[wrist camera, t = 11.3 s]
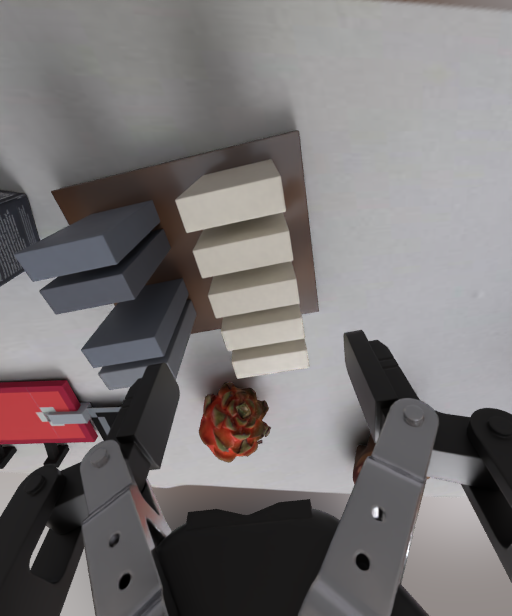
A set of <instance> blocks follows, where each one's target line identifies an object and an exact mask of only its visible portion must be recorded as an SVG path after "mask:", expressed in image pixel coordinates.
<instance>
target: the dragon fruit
mask: <svg viewBox="0 0 512 616" xmlns="http://www.w3.org/2000/svg"><path fill="white" fill-rule="evenodd" d="M268 409H269V407H268V405H267V403H266V401H259V400H257V397H256V392H255V391H254V390H253V389H251V388H244V389H240V388H236V387H235V386H234V384H233V382H232V383H224V385H223V386H222V387H221V388H220V390H219V392H218V395H217V396H215V395H214V394H208V395H207V396H205V401H204V409H203V412H204V413H203V417H202V419H201V424H200V429H199V435H200V438H201V440H202V441H203V443H204V444H205V445H207V446H208V447H209V448H210V450H211V451H212V452H213V454H214V455H215V456H216V457H217V458H218V459H220V460H223V461H225V462H228V463H229V462H232V461H233V460H234V459H235V457H236V456H242V457H243V456H247V457H248V456H249V455H250V454H252V453H253V452H255V451H256V450H257V447H258V444H260V443H262V440H260V441H258V440H259V439H261V438H263V437H264V435H265V437H267V436H268V434H269V433H270V429H271V427H269V426H268V425H267V424H266V423H265V422H263V421H262V419H263V418H264V416H265V415H266V412H267V411H268ZM264 423H265V424H264ZM257 441H258V442H257Z"/></svg>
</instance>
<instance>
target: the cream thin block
mask: <svg viewBox="0 0 512 616" xmlns="http://www.w3.org/2000/svg"><path fill="white" fill-rule="evenodd" d="M208 297H209V300H210V303H211V306H212V309H213V311H214V314H215V317H216V318H221V317H227V316H232V315H238V314H244V313H249V312H255V311H261V310H266V309H272V308H277V307H283V306H289V305H294V304H299V303H300V300H299V294H298V287H297V280H296V276H295V272H294V269H293V265H292V261H289V262H284V263H278V264H273V265H268V266H263V267H258V268H253V269H248V270H243V271H238V272H233V273H228V274H222V275H217V276H213V279H212V283H211V286H210V290H209V293H208Z"/></svg>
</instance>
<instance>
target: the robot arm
mask: <svg viewBox="0 0 512 616" xmlns="http://www.w3.org/2000/svg"><path fill="white" fill-rule="evenodd" d="M344 352H345V363H346V368H347V371H348V374H349V377H350V380H351V382H352V385H353V388H354V390H355V393H356V395H357V398H358V401H359V403H360V406H361V409H362V411H363V414H364V416H365V419H366V422H367V424H368V427H369V430H370V432H371V435H372V437H373V440H374V443H376V445H375V447H374V450H373V452H372V454H371V456H368V457H367V458H366V460H365V461H364V464H363V466H362V468H361V471H360V473H359V476H358V478H357V480H356V483H355V485H354V488H353V490H352V493H351V495H350V497H349V500H348V502H347V505H346V507H345V510H344V512H343V515H342V517H341V520H339V519H337V518H335V517H334V516H332V515H330V514H328V513H326V512H323V511H320V510H316V509H312V506H311V502H310V499H307V500H297V501H288V502H279V503H276V504H274V505H272V506H269V507H267V508H265V509H262V510H260V511H257V512H255V513H253V514H250V515H242V514H237V513H233V512H228V511H223V510H219V509H213V510H204V511H194V512H188V516H187V522H186V523H185V524H183V525H181V526H180V527H178V528H177V529H175V530H174V531H171V529H170V528H169V526H168V524H167V523H166V521H165V519H164V516H163V514H162V512H161V509H160V507H159V504H158V502H157V500H156V497H155V495H154V492H153V490H152V487H151V485H150V482H149V481H148V479H147V476H148V472H149V470H154V469H160V467H161V463H162V459H163V456H164V452H165V448H166V445H167V441H168V438H169V434H170V430H171V427H172V423H173V419H174V416H175V412H176V408H177V405H178V401H179V396H180V392H179V386H178V384H177V382H176V380H175V378H174V376H173V374H172V373H171V371H170V369H169V367H168V365H167V364H166V363H159V364H153V365H148V366H147V367H146V369H145V372H144V374H143V376H142V378H138V379H137V380H136V382H135V383H134V384H133V385H132V386H131V387H130V389H129V391H128V393H127V395H126V397H125V400H124V401H123V403H122V406H121V409H120V410H119V412H118V414H117V416H116V418H115V420H114V423H113V425H112V427H111V429H110V431H109V433H108V435H107V437H106V439H105V441H102V442H100V443H98V444H97V445H95V446H94V447H93V448H92V449H90V450H89V451H88V453H87V454H86V455H85V457H84V458H83V460H82V462H80V463H78V464H75V465H73V466H71V467H69V468H66V469H64V470H62V471H59V470H58V469H57V468H56V467H55V466H53V465H46V466H43V467H41V468H39V469H37V470H35V471H34V472H32V473H31V474H30V475H29V476H28V477H27V478H26V479H25V480H24V481H23V482H22V483H21V484H20V486H19V487H18V489H17V490H16V492H15V494H14V495H13V497H12V499H11V500H10V502H9V503H8V505H7V507H6V509H5V510H4V512H3V513H2V515H1V517H0V616H60V613H61V610H62V607H63V605H64V602H65V599H66V596H67V594H68V591H69V588H70V585H71V582H72V580H73V577H74V574H75V571H76V569H77V566H78V563H79V560H80V557H81V555H82V552H83V549H84V547H85V553H86V560H87V565H88V572H89V578H90V584H91V591H92V597H93V602H94V609H95V615H96V616H429V615H428V614H427V613H426V612H425V611H424V610H423V608H422V607H421V606H420V605H419V604H418V603H417V602H416V600H415V599H414V598H413V597H412V596H411V595H410V594H409V593H408V592H407V591H406V589H405V588H404V587H403V586H402V585H401V582H402V578H403V574H404V570H405V566H406V562H407V558H408V554H409V550H410V546H411V541H412V537H413V533H414V529H415V524H416V520H417V516H418V512H419V508H420V504H421V500H422V496H423V492H424V488H425V484H426V480H427V477H431V478H436V479H441V480H445V481H450V482H455V483H459V484H461V485H462V487H463V489H464V491H465V493H466V495H467V497H468V499H469V501H470V502H471V505H472V507H473V509H474V510H475V512H476V514H477V516H478V518H479V520H480V522H481V524H482V526H483V528H484V530H485V532H486V534H487V536H488V538H489V540H490V542H491V543H492V546H493V547H494V549H495V551H496V553H497V555H498V557H499V559H500V561H501V563H502V565H503V567H504V569H505V571H506V573H507V575H508V576H509V579H510V580H511V582H512V414H510V413H507V412H505V411H502V410H499V409H493V408H483V409H479V410H477V411H475V412H474V413H473V414H472V415H471V417H464V416H457V415H450V414H444V413H441V412H438V411H435V410H434V409H433V408H432V407H430V406H429V405H428V404H426V403H424V402H423V401H421V400H420V399H419V398H418V397H417V395H416V393H415V392H414V390H413V388H412V387H411V385H410V383H409V382H408V380H407V378H406V377H405V375H404V373H403V372H402V370H401V368H400V367H399V366H398V364H397V362H396V360H395V359H394V357H393V355H392V354H391V352H390V350H389V349H388V347H387V346H385V345H384V344H382V343H381V342H380V341H378V340H374V341H368V340H367V338H366V336H365V334H364V332H363V331H362V330H359V331H353V332H347V333H344ZM45 526H47V527H49V528H50V529H49V531H48V533H47V535H46V537H45V540H44V542H43V544H42V546H41V548H40V550H39V553H38V555H37V557H36V559H35V561H34V563H33V566H32V568H31V570H30V568H29V563H30V558H31V555H32V553H33V551H34V549H35V547H36V545H37V543H38V540H39V538H40V536H41V534H42V532H43V530H44V528H45Z"/></svg>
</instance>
